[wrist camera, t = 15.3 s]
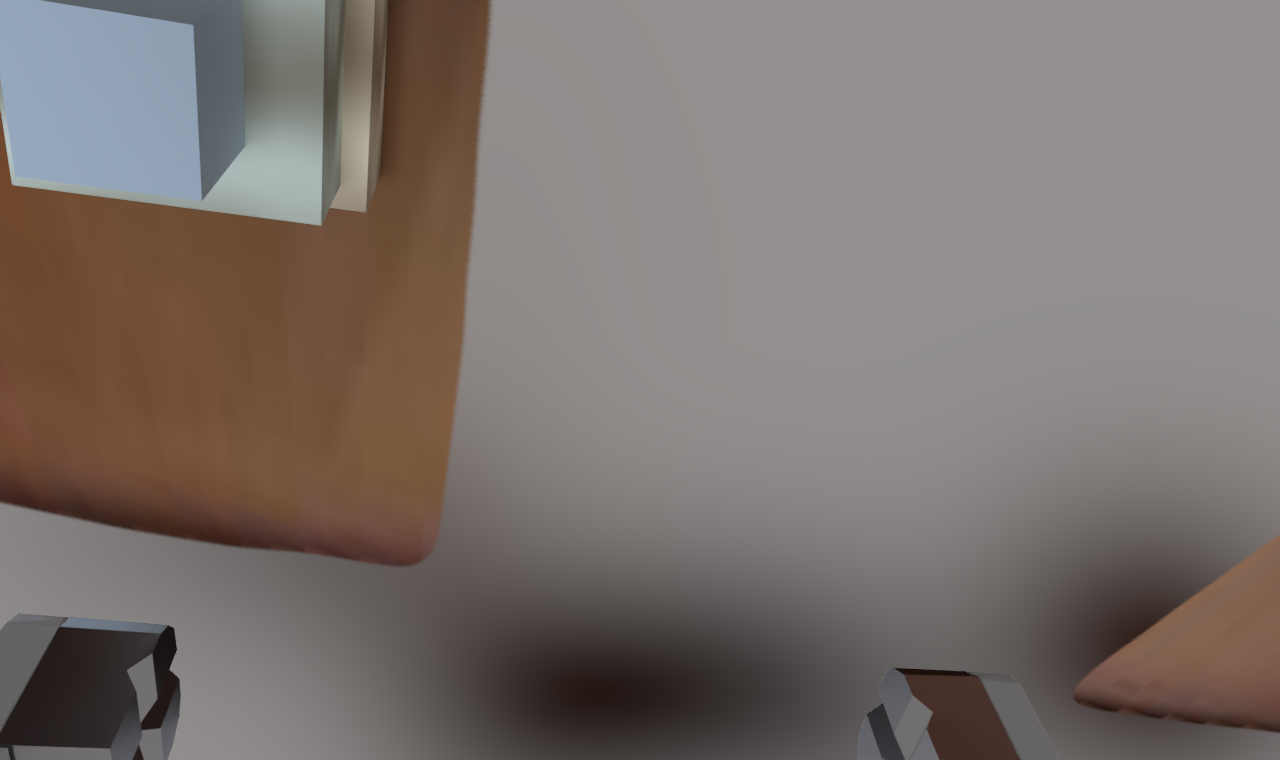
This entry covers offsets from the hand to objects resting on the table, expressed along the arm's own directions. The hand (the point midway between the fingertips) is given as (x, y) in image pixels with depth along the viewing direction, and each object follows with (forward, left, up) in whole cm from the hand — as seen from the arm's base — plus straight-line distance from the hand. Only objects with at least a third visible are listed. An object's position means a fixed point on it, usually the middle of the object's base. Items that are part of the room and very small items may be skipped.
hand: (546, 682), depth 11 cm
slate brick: (+1, -12, -25) cm, 28 cm away
